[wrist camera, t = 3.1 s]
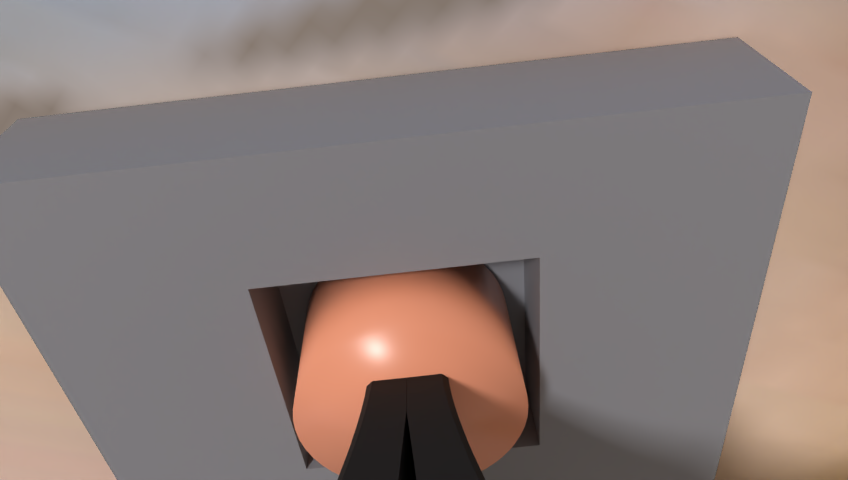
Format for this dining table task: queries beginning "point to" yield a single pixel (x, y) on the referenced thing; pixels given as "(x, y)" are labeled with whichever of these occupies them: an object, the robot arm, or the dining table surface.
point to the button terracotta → (409, 355)
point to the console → (410, 250)
